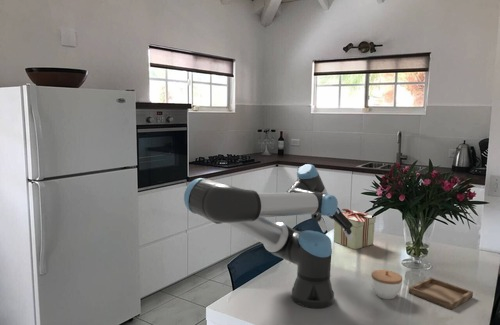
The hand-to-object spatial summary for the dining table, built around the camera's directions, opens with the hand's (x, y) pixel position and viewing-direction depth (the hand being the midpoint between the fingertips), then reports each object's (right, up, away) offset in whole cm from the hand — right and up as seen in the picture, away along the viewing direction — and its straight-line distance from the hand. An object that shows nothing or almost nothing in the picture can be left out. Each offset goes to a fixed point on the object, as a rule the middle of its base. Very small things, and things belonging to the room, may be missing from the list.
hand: (337, 234), depth 170 cm
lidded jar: (+13, -19, -22) cm, 32 cm away
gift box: (+15, -12, +35) cm, 40 cm away
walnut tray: (+33, -19, -21) cm, 44 cm away
